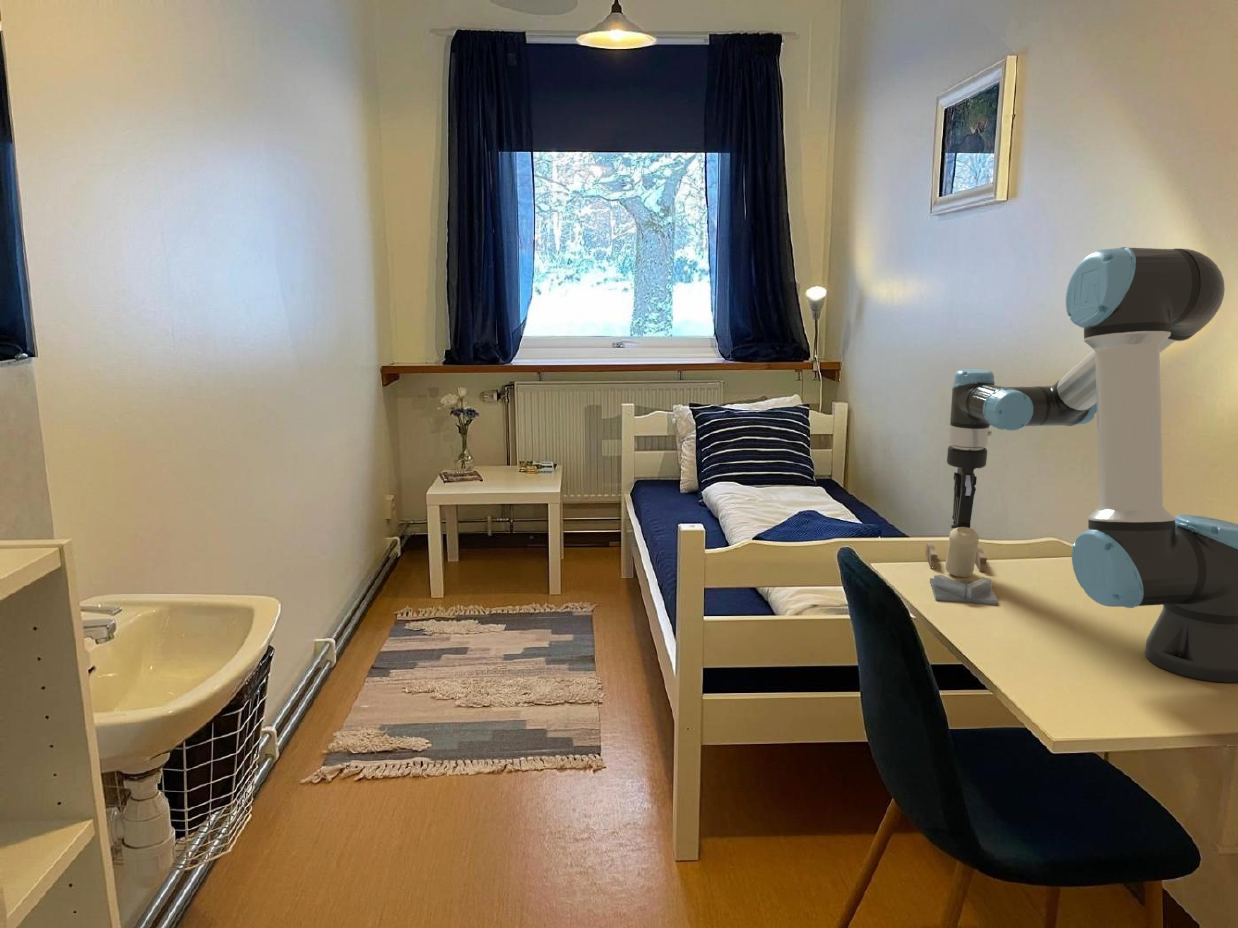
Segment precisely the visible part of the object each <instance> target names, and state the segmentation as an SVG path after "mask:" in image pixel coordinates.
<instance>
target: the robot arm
mask: <svg viewBox="0 0 1238 928" xmlns="http://www.w3.org/2000/svg"><path fill="white" fill-rule="evenodd" d="M1225 288H1226V287H1225V280H1224V276H1223V274H1222V271H1221V269H1220V268H1219V266H1218V265H1217V264H1216V262H1214V260H1212V259H1211V258H1210V257H1209V256H1207V255H1205V254H1203V253H1202V252H1201V251H1200V252H1199V251H1197V250H1194V249H1189V248H1152V247H1151V248H1147V247H1127V246H1123V247H1119V248H1118V247H1116V248H1104V249H1098V250H1096V251H1093V252H1091V253H1090V254H1088V255H1087V256H1086V257H1084V258H1083V259H1082V260H1081V261H1080V262H1079V264H1077V266H1076V269H1075V270H1074V271H1073V273H1072V275H1071V277H1070V278H1069V282H1068V285H1067V289H1066V293H1065V309H1066V313H1067V316H1068V317H1070V318H1069V319H1070V321H1071V323H1073V324H1074V325H1076V326H1078V327H1080V328H1082V329H1083V341H1084V343H1085V344H1087V345H1088V346H1089V347H1090V348H1091V349H1093V350H1091V352H1089V354H1087V355H1086V356H1085V357H1084V358H1083V359H1081V360H1080V362H1078V363H1077V364H1076V365H1074V367H1073V368H1071V369H1070V370H1069V371H1068V372H1067V373H1066V374H1064V375H1063V377H1061V378H1060V379H1059V380H1057V382H1055V383H1054V384H1053V385H1050V386H1049V385H1048V386H1043V385H1042V386H1001V385H995V375H994V373H993V372H992V371H990V370H987V369H978V368H977V369H976V368H974V369H973V368H965V369H963V368H962V369H960V370H959V369H958V370H957V371H956V372H955V374H954V378H953V383H952V388H951V392H952V393H951V404H950V405H951V406H950V419H949V420H950V423H949V427H948V439H947V443H948V444H949V446H948V447H947V455H946V463H947V464H948V465H949V466H951V467H954V468H957V470H956V471H957V472H953V480H954V481H953V483H954V486H953V507H952V508H953V509H952V517H951V518H952V520H953V522H952V524H951V527H950V528H951V529H952V530H953V529H955V528H958V527H967V528H971V521H972V512H973V507H974V506H973V505H974V499H975V494H976V491H977V489H976V485H977V476H976V475H975V472H974V471H975V469H982V468H985V467H986V466H987V459H988V458H987V457H988V450H987V448H986V447H987V446H988V445H989V436H992V435H993V432H992V431H991V430H990V426H991V427H993V428H997V429H998V430H1002V431H1003V430H1006V431H1011V432H1012V431H1018V430H1020V429H1022V428H1023V427H1037V426H1041V427H1042V426H1048V427H1049V426H1065V427H1066V426H1067V427H1072V426H1073V427H1074V426H1076V425H1086V424H1088V423H1090V422H1092V420H1093V419H1095V414H1096V429H1097V434H1096V437H1097V438H1096V439H1097V441H1096V442H1097V474H1098V475H1097V477H1098V478H1097V479H1098V480H1097V481H1098V507H1097V508H1096V509H1095V510H1094V511H1093V512H1092V513H1091V514H1090V515H1088V517H1087V518H1088V519H1087V522H1088V529H1087V530H1085V531H1083V532H1081V533H1080V534H1079V535H1077V537H1076V538H1075V543H1073V545H1072V548H1071V564H1072V570H1073V572H1074V575H1075V578H1076V580H1077V583H1078V584H1079V585H1080V587H1081V588H1082V589H1083V590H1084V593H1085V594H1087V595H1086V596H1087V597H1089V598H1091V600H1093V601H1094V602H1096V603H1097V604H1099V605H1102V606H1105V607H1111V608H1115V607H1116V608H1117V607H1118V608H1123V607H1124V608H1127V609H1132V608H1133V609H1134V608H1137V607H1145V606H1148V607H1149V606H1160V605H1161V606H1162V608H1161V611H1160V614H1159V615H1158V618H1157V619H1156V622H1155V623H1154V625H1153V627H1152V629H1151V630H1150V633H1149V634H1148V636H1147V638H1146V641H1145V647H1144V656H1145V657H1146V659H1148V661H1150V662H1151V663H1152V664H1153V665H1155V666H1156V667H1159V668H1161V669H1164V670H1165V671H1168V672H1171V673H1174V674H1178V675H1179V676H1183V677H1184V676H1185V677H1187V678H1192V679H1196V680H1201V681H1208V682H1215V683H1238V523H1234V522H1233V521H1232V522H1231V521H1227V520H1222V519H1218V518H1215V517H1214V518H1213V517H1208V516H1204V515H1203V516H1202V515H1196V514H1195V515H1194V514H1187V513H1186V514H1183V513H1182V514H1181V513H1180V514H1178V515H1176V516H1174V515H1173V514H1172V513H1171V512H1169V510H1167V509H1166V508H1165V505H1164V492H1163V488H1164V487H1163V486H1164V485H1163V446H1162V444H1163V443H1162V408H1161V407H1162V404H1161V403H1162V402H1161V401H1162V400H1161V396H1162V395H1161V360H1160V358H1161V357H1160V355H1161V353H1162V352H1163V351H1165V350H1166V349H1167V348H1168V347H1170V346H1171V345H1172V344H1173V343H1175V342H1184V341H1187V340H1189V339H1190V338H1192V337H1194V336H1195V335H1196V334H1197V333H1198V332H1200V331H1201V330H1202V329H1204V327H1206V326H1207V325H1208V324H1209V322H1211V321H1212V320H1213V318H1214V317H1215V316H1216V315H1217V312H1218V311H1219V310H1220V308H1221V307H1222V303H1223V301H1224V298H1225Z"/></svg>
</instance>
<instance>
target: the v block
mask: <svg viewBox="0 0 1238 928" xmlns="http://www.w3.org/2000/svg"><path fill="white" fill-rule="evenodd" d="M992 579H993V578H992ZM992 579H991V578H989V577H987V578H986V577H982V578H979V579H977V580H974V581H973V580H961V579H960V580H959V579H953V578H950V577H948V576H945V575H943V574H935V575H934V576H933V578H932V577H931V578H929V584H931V585H930V587H932V588H931V591H932V590H933V591H932V593H933V597H934V600H935V601H938V600H940V601H942V602H953V603H969V604H979V605H980V604H981V605H994V606H995V605H996V606H998V605H999V600H998V598H997V596H996V594H995V592H994V590H993V588H992Z"/></svg>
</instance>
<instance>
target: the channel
mask: <svg viewBox="0 0 1238 928" xmlns="http://www.w3.org/2000/svg"><path fill="white" fill-rule="evenodd" d="M925 556H926V560H927V563H928V566H929V565H930V566H929V568H930V567H933V568H936V569H937V565H938V552H937V551H936V547H935V545H934V543H933V541H926V547H925ZM987 560H988V558H987V556H986V554H985V553H984V550H983V548H982V547H981V545H980V544H978V547H977V553H976V559H975V565H976V567H977V569H978V571H979V572H980V573H986V572H987Z"/></svg>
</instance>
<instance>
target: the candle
mask: <svg viewBox="0 0 1238 928" xmlns="http://www.w3.org/2000/svg"><path fill="white" fill-rule="evenodd" d="M979 540H980V536H979V534H978V533H977V532H976V530H974V529H973V528H971V527H970V528H967V527H958V528H955V529H953V528H952V530H951V531H950V532H949V537H948V545H947V553H946V559H945V570H946V572H947V573H948V574H950V575H952V576H954V577H956V578H957V577H959V578H967V577H969V576H971V575H972V574H973V573H974V570H975V565H976V564H975V559H976V553H977V547H978V545H979Z"/></svg>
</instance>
